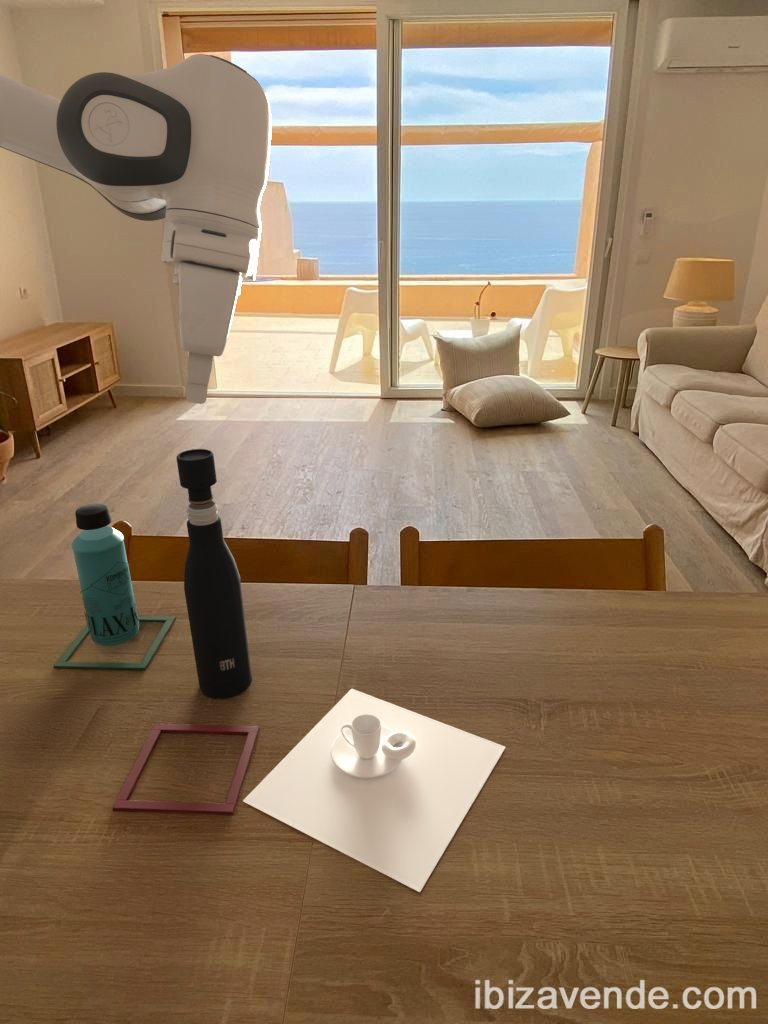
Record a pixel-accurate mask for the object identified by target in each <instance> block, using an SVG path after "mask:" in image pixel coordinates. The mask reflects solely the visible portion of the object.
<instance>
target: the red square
mask: <svg viewBox="0 0 768 1024" xmlns="http://www.w3.org/2000/svg"><path fill="white" fill-rule="evenodd" d="M259 732H260V726H259V725H258V726H257V725H223V724H190V723H186V724H184V723H155V724H154V726H153V727H152V729H151V731H150V733H149V735H148V737H147V739H146V741H145V743H144V745H143V747H142V749H141V751H140V753H139V755H138V757H137V758H136V760H135V762H134V764H133V766H132V768H131V770H130V771H129V774H128V776H127V778H126V780H125V782H124V783H123V785H122V788H121V790H120V792H119V794H118V796H117V798H116V800H115V802H114V803H113V805H112V811H117V812H118V811H119V812H147V813H171V814H173V813H175V814H200V815H201V814H202V815H203V814H204V815H227V816H230V815H231V816H232V815H234V812H235V810H236V805H237V803H238V799H239V796H240V793H241V790H242V787H243V784H244V780H245V777H246V773H247V771H248V768H249V764H250V761H251V758H252V755H253V752H254V748H255V745H256V741H257V739H258V736H259ZM162 733H170V734H171V733H172V734H173V733H175V734H204V735H205V734H208V735H209V734H210V735H241V736H243V735H244V736H247V737H246V740H245V742H244V745H243V749H242V751H241V754H240V757H239V760H238V763H237V766H236V769H235V772H234V776H233V778H232V781H231V784H230V788H229V791H228V794H227V797H226V800H225V802H224V803H222V802H221V803H220V802H218V803H217V802H214V803H213V802H193V801H191V802H189V801H163V800H161V801H160V800H135V799H134V800H130V797H131V795H132V792H133V791H134V790H135V787H136V785H137V783H138V781H139V779H140V776H141V775H142V772H143V770H144V768H145V767H146V764H147V762H148V760H149V758H150V756H151V755H152V752H153V750H154V748H155V746H156V744H157V742H158V740H159V738H160V736H161V735H162Z"/></svg>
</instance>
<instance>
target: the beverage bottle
mask: <svg viewBox="0 0 768 1024" xmlns="http://www.w3.org/2000/svg"><path fill="white" fill-rule="evenodd" d="M109 509H110V508H109V507H108V505H107V504H105V503H99V502H98V503H89V504H84V505H82V506H80V507H77V509H76V510H75V513H74V514H75V524H76V525H75V526H76V527H77V528H78V529H79V530H82V531H80V532H79V533H78V534H77V535H76V537H75V538H74V539H73V540H72V542H71V549H72V552H73V557H74V562H75V567H76V571H77V575H78V581H79V585H80V592H79V593H80V594H81V602H82V604H83V609H84V616H85V620H86V625H87V626H88V625H89V627H88V630H89V629H90V631H89V635H90V638H91V640H92V642H94V643H95V644H96V645H98V646H102V647H113V646H119V645H122V644H125V643H127V642H129V641H131V640H133V639H134V638H135V637H136V636H137V634H138V633H139V630H140V626H141V625H140V624H141V622H139V621H140V620H139V619H138V617H139V616H140V615H138V611H139V610H138V608H137V602H136V599H135V594H134V593H135V591H134V589H133V587H134V586H133V582H132V579H131V578H132V576H131V571H130V563H128V557H127V552H126V551H127V550H126V546H125V538H124V534H123V533H122V532H121V531H119V530H117V529H115V528H114V527H112V526H109V525H110V524H111V523H112V522H113V520H112V515H111V512H110V510H109Z"/></svg>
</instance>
